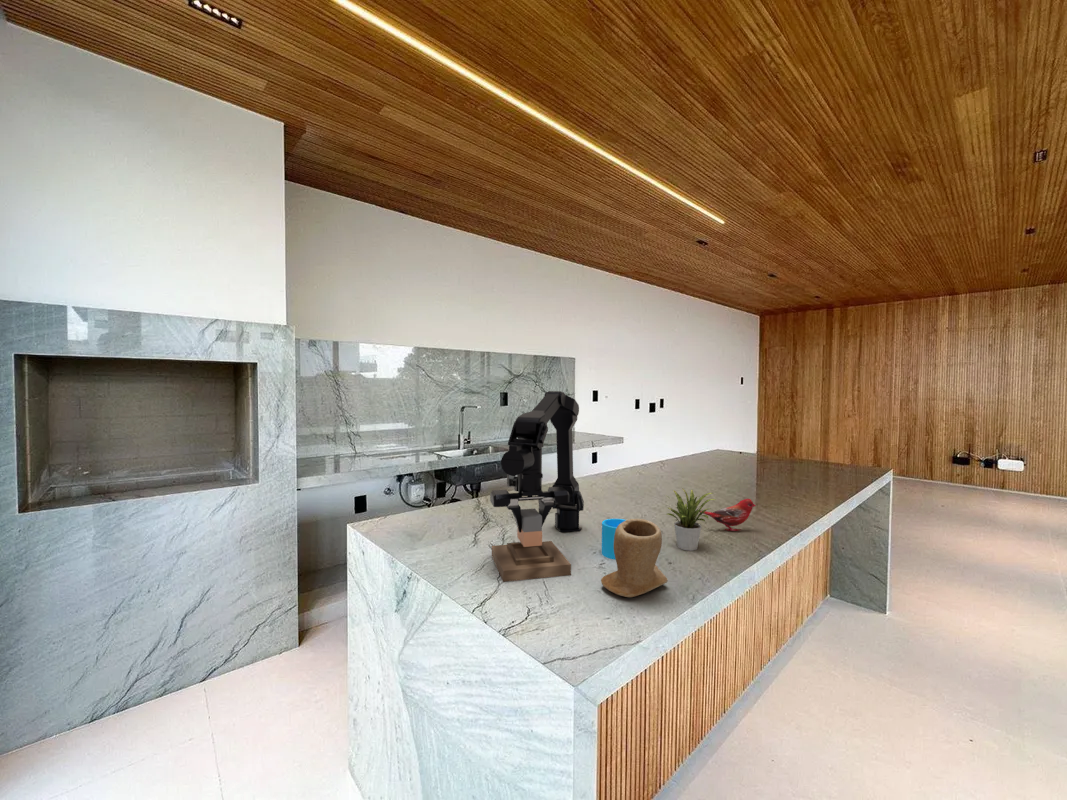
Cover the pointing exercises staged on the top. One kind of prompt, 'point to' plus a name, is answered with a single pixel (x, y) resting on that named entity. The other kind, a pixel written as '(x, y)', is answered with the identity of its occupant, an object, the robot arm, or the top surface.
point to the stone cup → (635, 559)
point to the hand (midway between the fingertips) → (529, 531)
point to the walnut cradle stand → (529, 561)
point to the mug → (609, 536)
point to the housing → (530, 528)
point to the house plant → (688, 521)
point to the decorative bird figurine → (733, 514)
